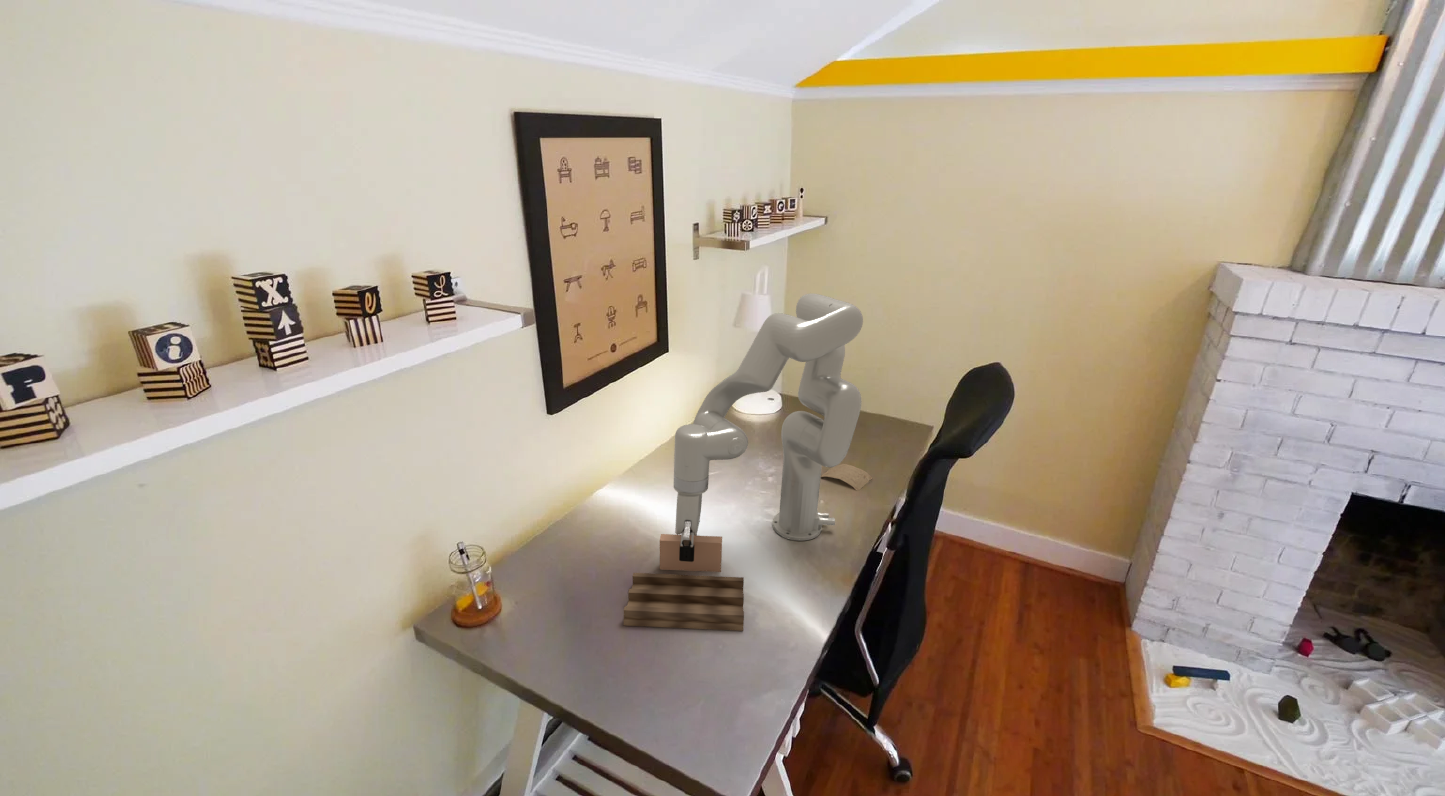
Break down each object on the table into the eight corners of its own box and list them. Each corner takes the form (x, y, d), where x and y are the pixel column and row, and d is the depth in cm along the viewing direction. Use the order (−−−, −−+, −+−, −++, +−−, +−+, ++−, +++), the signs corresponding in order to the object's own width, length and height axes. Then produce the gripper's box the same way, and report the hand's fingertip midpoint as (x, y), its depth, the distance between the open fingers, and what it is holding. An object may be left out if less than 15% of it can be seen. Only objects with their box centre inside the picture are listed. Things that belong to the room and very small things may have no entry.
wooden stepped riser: (742, 589, 129) (743, 576, 128) (743, 630, 118) (744, 617, 117) (634, 584, 130) (633, 571, 128) (623, 625, 118) (623, 611, 117)
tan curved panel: (874, 480, 177) (875, 472, 176) (860, 494, 170) (861, 485, 169) (830, 466, 185) (831, 458, 184) (815, 478, 177) (816, 471, 176)
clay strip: (721, 565, 137) (722, 536, 134) (721, 572, 135) (722, 543, 132) (661, 562, 137) (661, 534, 134) (659, 569, 135) (659, 540, 132)
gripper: (677, 461, 135) (675, 525, 142) (669, 500, 119) (667, 570, 125) (710, 463, 135) (706, 527, 141) (706, 502, 119) (702, 572, 125)
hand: (688, 547), depth 133 cm, fingers open, 9 cm apart
